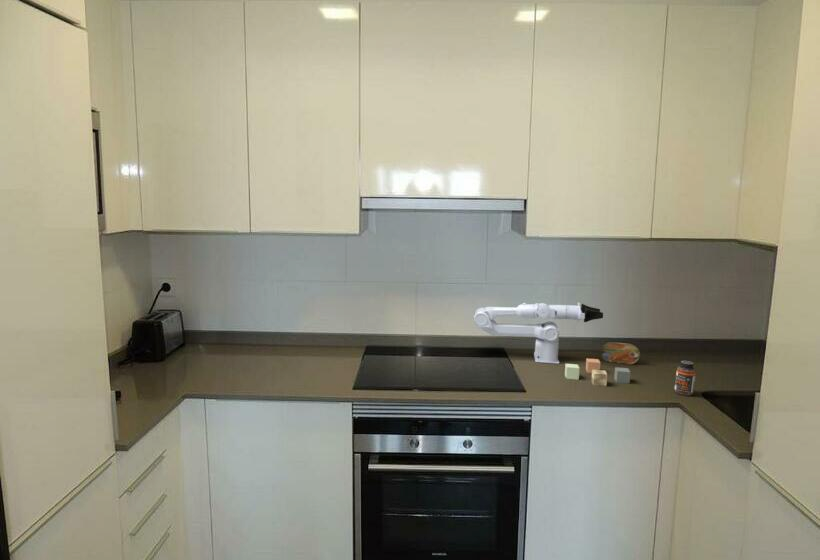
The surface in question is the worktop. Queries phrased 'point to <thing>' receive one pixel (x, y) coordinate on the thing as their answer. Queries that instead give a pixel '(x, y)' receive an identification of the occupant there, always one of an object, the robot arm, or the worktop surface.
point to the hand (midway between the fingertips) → (601, 313)
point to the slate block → (622, 375)
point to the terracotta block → (592, 365)
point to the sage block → (572, 371)
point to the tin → (620, 353)
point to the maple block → (599, 377)
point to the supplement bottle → (685, 378)
